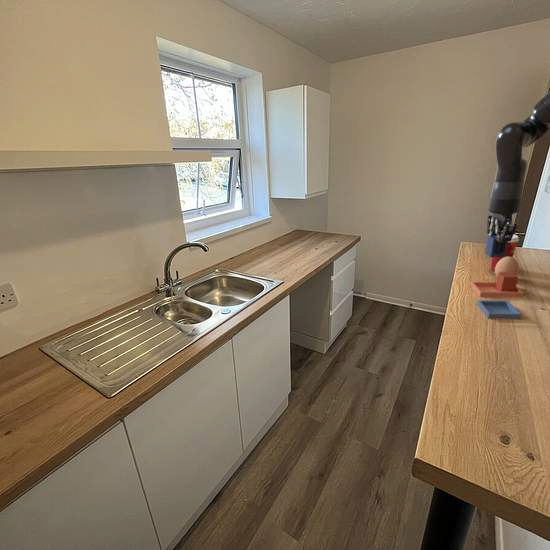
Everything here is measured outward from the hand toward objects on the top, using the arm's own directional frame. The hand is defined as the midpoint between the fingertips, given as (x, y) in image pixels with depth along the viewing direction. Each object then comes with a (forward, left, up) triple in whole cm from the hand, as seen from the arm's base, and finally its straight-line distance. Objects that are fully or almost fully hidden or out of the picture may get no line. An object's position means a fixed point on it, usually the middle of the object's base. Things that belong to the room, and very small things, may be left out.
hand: (495, 250), depth 96 cm
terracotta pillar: (-5, 0, -15) cm, 15 cm away
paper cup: (-12, -19, -15) cm, 27 cm away
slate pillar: (0, 0, -2) cm, 2 cm away
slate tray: (+2, +14, -15) cm, 20 cm away
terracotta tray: (-3, 0, -15) cm, 15 cm away
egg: (-10, -10, -15) cm, 21 cm away
